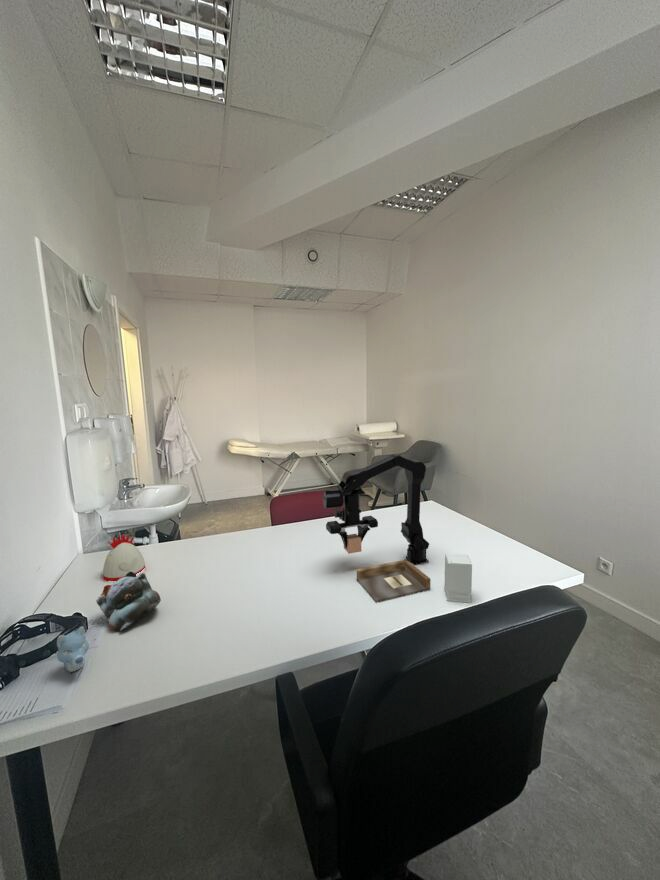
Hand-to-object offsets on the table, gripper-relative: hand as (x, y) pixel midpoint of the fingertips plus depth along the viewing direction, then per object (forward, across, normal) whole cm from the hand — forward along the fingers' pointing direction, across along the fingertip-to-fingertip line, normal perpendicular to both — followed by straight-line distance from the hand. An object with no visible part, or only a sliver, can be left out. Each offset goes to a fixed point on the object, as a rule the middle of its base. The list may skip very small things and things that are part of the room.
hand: (352, 546), depth 133 cm
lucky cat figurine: (+9, +74, +3) cm, 74 cm away
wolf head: (+9, +82, +22) cm, 85 cm away
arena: (+9, -8, +16) cm, 19 cm away
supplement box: (+9, -24, +29) cm, 39 cm away
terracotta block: (+1, 0, 0) cm, 1 cm away
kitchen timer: (+9, +81, -30) cm, 87 cm away
